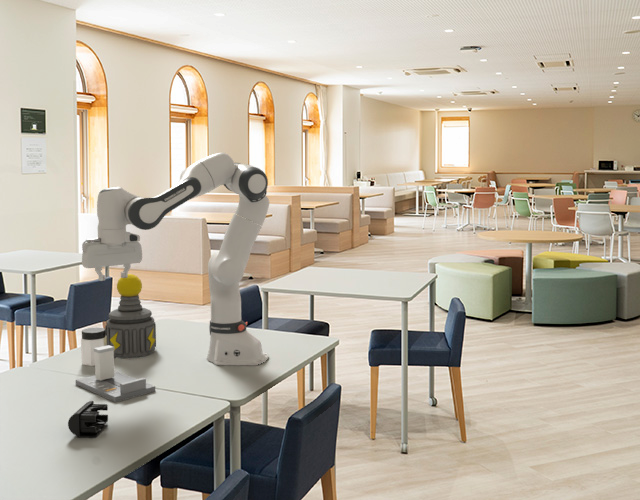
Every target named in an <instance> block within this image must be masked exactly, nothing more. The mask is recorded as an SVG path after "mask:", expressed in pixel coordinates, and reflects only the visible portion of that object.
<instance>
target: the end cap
mask: <svg viewBox="0 0 640 500" xmlns="http://www.w3.org/2000/svg"><path fill="white" fill-rule="evenodd" d="M108 405H109V404H108V403H106V404H105V403H104V404H103V403H100V404H99V403H95V402H94V400H89V401H88V402H86V403H84V405H82V406H81V407H80V408H79V409H78V410H76V411H75V412H74V413H73V414H72V415H71V416H70V417H69V419H68V422H67V427H68V430H69V432H70V433H72V434H73V435H75V436H76V437H77V438H79V439H96V438H98V437H99V436H100V434H102V433H103V431H105V429H106V428H107V427H108V426H109V424H108V421H109V415H108V414H101V413H100V411H106V412H107V411H108V409H109V408H108V407H109V406H108Z"/></svg>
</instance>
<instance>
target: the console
mask: <svg viewBox="0 0 640 500" xmlns="http://www.w3.org/2000/svg"><path fill="white" fill-rule="evenodd" d="M75 385H76V386H78V387H80V388H83V389H85V390H86V391H89V392H92V393H94V394H96V395H98V396H100V397H103V398H105V399H107V400H110V401H112V402H114V403H118V402H121V401H122V402H123V401H126V400H129V399H131V398H136V397H140V396H143V395H147V394H150V393H154V392H156V386H155V385H153V384H150V383H148V382H147V379H146V378H145V377H140V378H135V377H132V376H129V375H127V374H125V373H122V372H120V371H117V370H114V377H113V378H109V379H105V380H98V379H96V377H95V374H94V375H90V376H86V377H82V378H77V379H75Z"/></svg>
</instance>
